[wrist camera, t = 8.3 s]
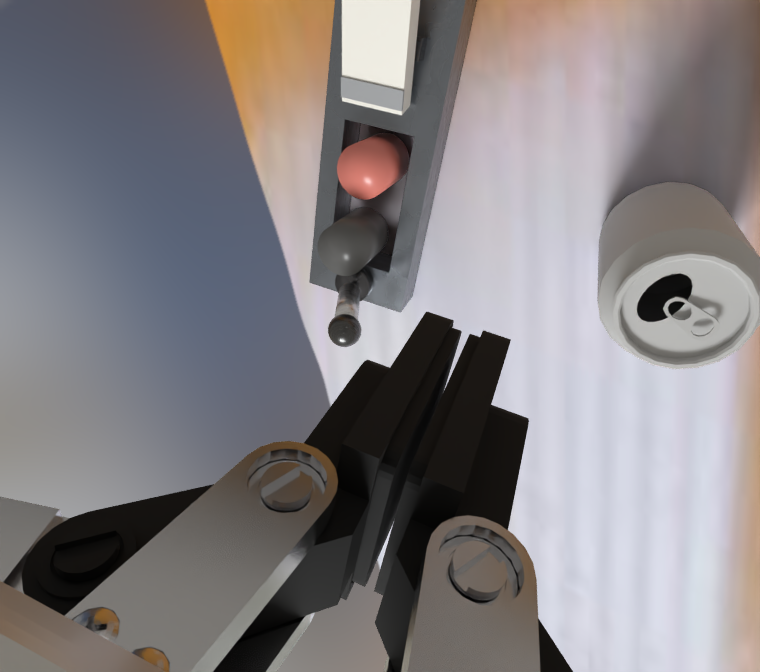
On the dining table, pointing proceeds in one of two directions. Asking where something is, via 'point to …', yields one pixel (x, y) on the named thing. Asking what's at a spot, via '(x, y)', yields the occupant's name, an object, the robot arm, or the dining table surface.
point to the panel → (430, 129)
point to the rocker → (379, 53)
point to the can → (677, 277)
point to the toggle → (346, 317)
